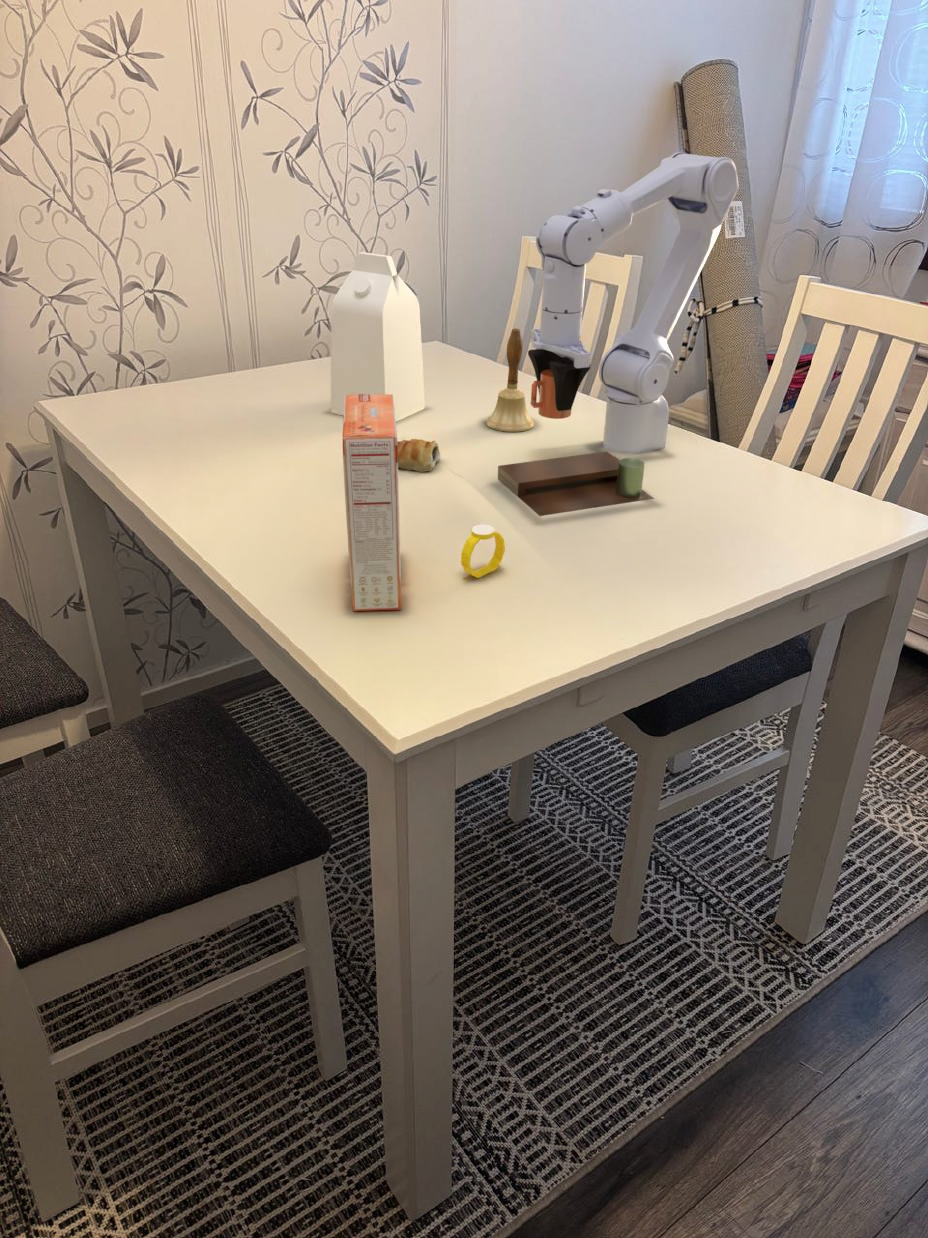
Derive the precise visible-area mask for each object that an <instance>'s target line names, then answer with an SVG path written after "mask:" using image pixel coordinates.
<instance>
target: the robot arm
mask: <svg viewBox="0 0 928 1238" xmlns="http://www.w3.org/2000/svg"><path fill="white" fill-rule="evenodd" d="M738 178H739V177H738V171H737V166H736V164H735V162H734V160H732V159H731V158H730V157H726V156H720V157H717V156H707V155H701V154H700V155H699V154H691V153H687V152H684V151H677V152H674V153H672V154H671V155H670V156H669V157H665V158H663V159H662V160H661V161H660V163H659V166H658V167H656V168H655V169H653V170H652V171H650V172H649V173H648V174H646V175H645V176H643V177H642V178H640V179H639V180H637V181H636V182H635V183H633V184H632V185H630V186H629V187H627V188H625V189H624V190H623V191H618V190H616V189H607V188H601V189H599V190H597V192H596V197H594V198H592V199H591V200H589V201H587V202H585V203H584V204H582V205H575V206H574V207H572V208H571V211H570V212H568V213H567V215H561V214H554V215H553V216H550V217H549V218H548V219H547V220H546V221H545V222H544V223H543V224H542V226H541V227H540V231H539V234H538V236H536V237H535V244H536V249H537V251H538V254H539V255H540V257H541V268H542V271H543V280H542V292H541V293H542V295H541V296H542V298H541V310H540V311H541V313H540V314H541V315H540V327H539V328H533V329H530V344H531V346H532V347H533V348H534V349H529V350H527V355H528V357H529V359H530V361H531V363H532V367H533V369H534V373H535V377H536V381H540V379H541V372H542V371H543V370H547V369H551V370H552V373H553V377H554V383H555V402H556V408H557V410H558V411H564V410H571V411H572V409H573V405H574V402H575V399H576V397H577V394H578V391H579V388H580V386H581V384H582V382H583V380H584V379H585V377H586V376H587V374H588V372H589V371H590V369H591V352H589V351H588V350H587V349H586V347H585V345H584V344H583V342H582V340H581V334H582V321H583V311H584V309H583V308H584V298H585V297H584V296H585V286H586V273H587V264H589V263H590V262H591V261H592V260H593V258H594V257H595V255H596V253H597V250H598V249H599V248H600V247H602V245H603V244H605V243H606V242H608V241H610V240H612V239H613V238H615V237H616V236H618V235H620V234H622V233H623V232H626V230H628V229H629V227H631V224H632V221H633V217H634V216H636V215H637V214H639V213H642V212H644V211H645V210H647V209H650V208H651V207H653V206H656V205H658V204H659V203H661V202H663V201H665V200H666V201H667V203H668V206H669V207H670V210H671V211H672V215H673V216H674V218H675V219H676V220H677V221H678V223H679V232H678V234H677V236H676V238H675V240H674V242H673V245H672V246H671V249H670V251H669V253H668V255H667V257H666V259H665V261H664V264H663V265H662V267H661V269H660V272H659V274H658V276H657V278H656V280H655V283H654V285H653V287H652V289H651V291H650V293H649V295H648V297H647V300H646V301H645V304H644V306H643V308H642V310H641V312H640V315H639V316H638V318H637V321H636V323H635V325H634V327H633V328H631V329H630V330H628V331H626V332H624V333H622V334H620V335H618V336H617V337H616V339H615V341H614V343H613V345H612V347H611V348H610V349H608V350H607V352H606V353H605V354H604V356H603V357H602V358H601V361H600V364H599V366H598V367H599V368H598V376H599V380H600V383H601V384H602V385H603V386H604V393H605V394H607V396H606V397H607V398H606V409H605V419H604V428H603V438H602V439H603V440H602V441H601V440H600V441H599V443H600V442H602V447H603V448H604V449H606V450H608V451H610V452H613V453H617V454H622V455H623V454H624V455H636V454H641V453H645V452H649V451H654V450H661V449H665V448H666V442H667V435H668V428H669V427H668V426H669V419H670V410H669V409H670V408H669V404H668V401H667V399H666V398H665V397H664V396H663V395H662V394H663V393H664V391H665V390H666V388H667V385H668V382H669V378H670V377H669V376H670V372H671V368H672V366H673V364H674V361H675V358H674V356H673V354H672V352H671V350H670V348H669V344H668V341H669V339H670V336H671V334H672V333H673V330H674V328H675V326H676V324H677V322H678V320H679V318H680V316H681V314H682V311H683V309H684V308H685V305H686V304H687V302H688V299H689V297H690V295H691V292H692V291H693V289H694V286H695V284H696V282H697V280H698V279H699V278H698V277H699V276H700V274H701V272H702V269H703V267H704V266H705V263H706V261H707V259H708V257H709V255H710V253H711V252H712V249H713V247H714V245H715V243H716V241H717V238H718V236H719V234H720V231H721V229H722V225H723V222H724V221H725V218H726V216H727V215H728V212H729V210H730V208H731V205H732V204H733V201H734V199H735V197H736V195H737V193H738V191H739V188H740V186H739V179H738ZM537 391H538V395H540V386H537ZM571 408H572V409H571ZM592 443H595V442H593V441H592Z"/></svg>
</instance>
